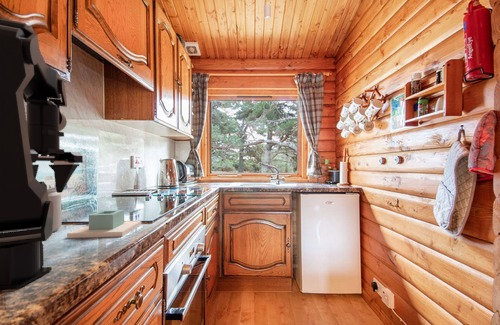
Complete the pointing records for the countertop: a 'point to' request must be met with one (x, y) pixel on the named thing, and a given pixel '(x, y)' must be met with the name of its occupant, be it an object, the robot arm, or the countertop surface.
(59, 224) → the can
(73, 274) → the countertop surface
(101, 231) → the base plate
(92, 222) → the block with square hole
